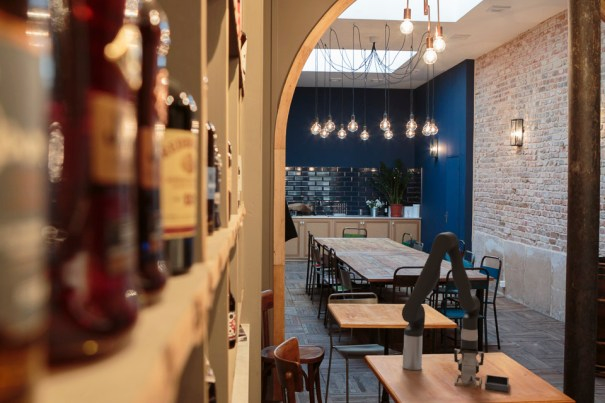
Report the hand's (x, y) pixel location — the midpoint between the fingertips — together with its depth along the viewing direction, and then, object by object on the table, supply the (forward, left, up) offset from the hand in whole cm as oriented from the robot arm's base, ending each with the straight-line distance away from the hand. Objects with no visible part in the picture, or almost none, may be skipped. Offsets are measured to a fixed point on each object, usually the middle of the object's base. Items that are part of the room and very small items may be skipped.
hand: (468, 372), depth 267 cm
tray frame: (0, 0, -5) cm, 5 cm away
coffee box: (0, 0, -5) cm, 5 cm away
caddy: (+13, 0, -5) cm, 14 cm away
